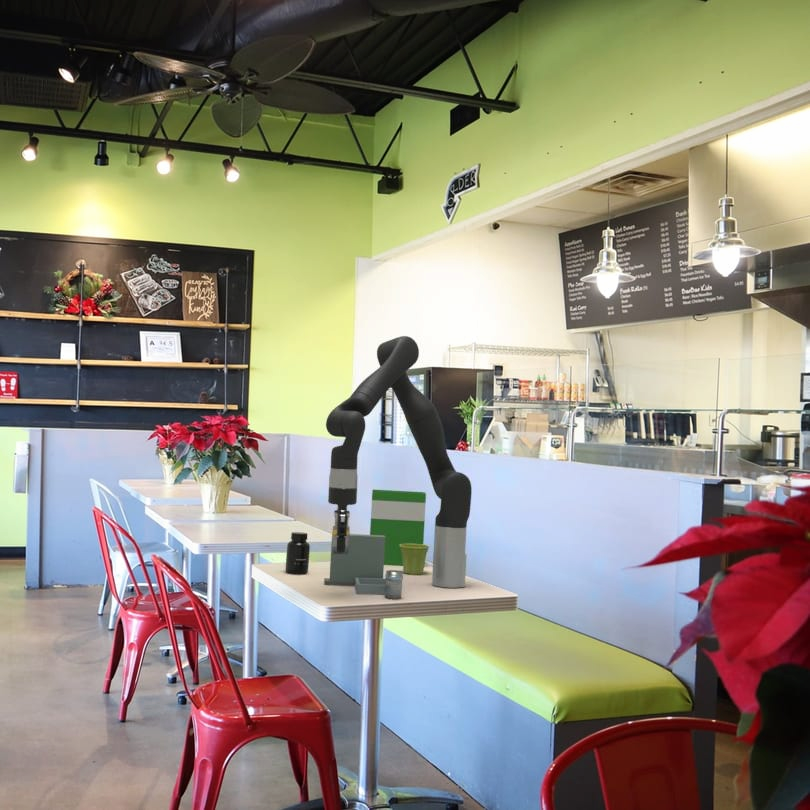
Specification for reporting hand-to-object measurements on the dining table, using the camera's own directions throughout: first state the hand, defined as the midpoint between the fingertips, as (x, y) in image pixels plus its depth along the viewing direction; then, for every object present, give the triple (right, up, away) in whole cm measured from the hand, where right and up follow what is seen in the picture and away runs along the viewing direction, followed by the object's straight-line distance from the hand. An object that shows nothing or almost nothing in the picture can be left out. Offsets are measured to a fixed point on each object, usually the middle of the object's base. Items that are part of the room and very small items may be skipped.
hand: (340, 550), depth 243 cm
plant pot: (+20, -14, +44) cm, 50 cm away
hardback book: (+14, -14, +62) cm, 65 cm away
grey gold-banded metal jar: (0, -1, 0) cm, 1 cm away
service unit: (+3, -13, +18) cm, 22 cm away
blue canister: (+14, -13, +1) cm, 19 cm away
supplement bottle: (-15, -12, +33) cm, 38 cm away
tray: (+9, -13, +10) cm, 19 cm away
